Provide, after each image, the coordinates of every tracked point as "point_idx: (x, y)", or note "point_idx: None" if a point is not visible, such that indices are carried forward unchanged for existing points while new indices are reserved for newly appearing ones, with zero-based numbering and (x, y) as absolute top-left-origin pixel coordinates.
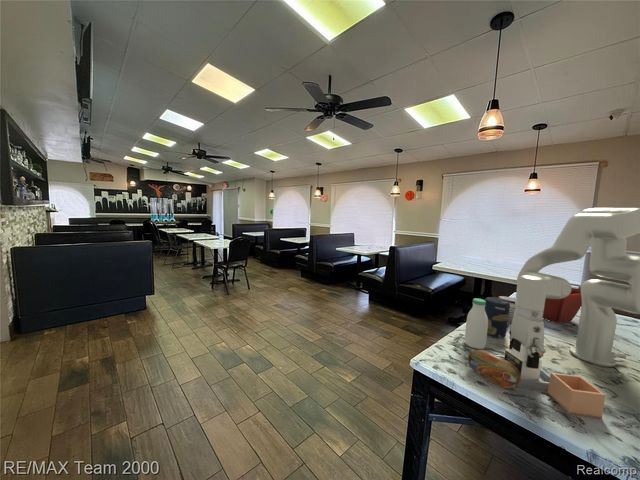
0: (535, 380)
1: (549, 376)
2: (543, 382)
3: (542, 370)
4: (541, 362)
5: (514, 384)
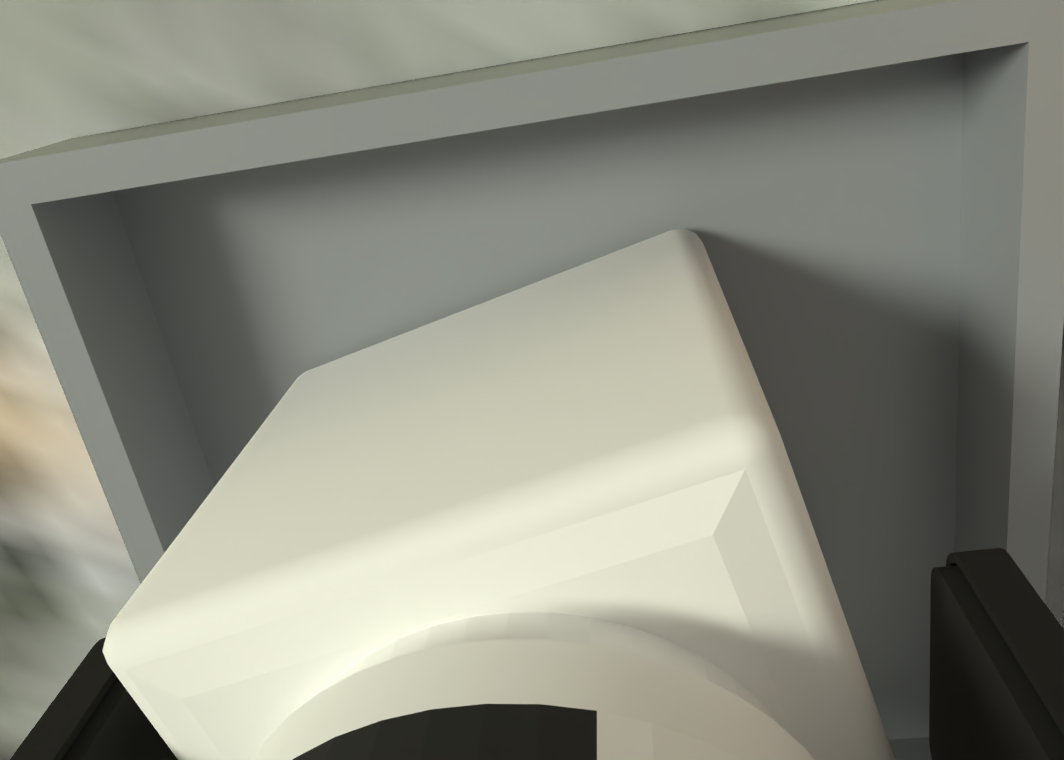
0: (730, 304)
1: (739, 68)
2: (1053, 345)
3: (489, 114)
4: (764, 401)
5: None
